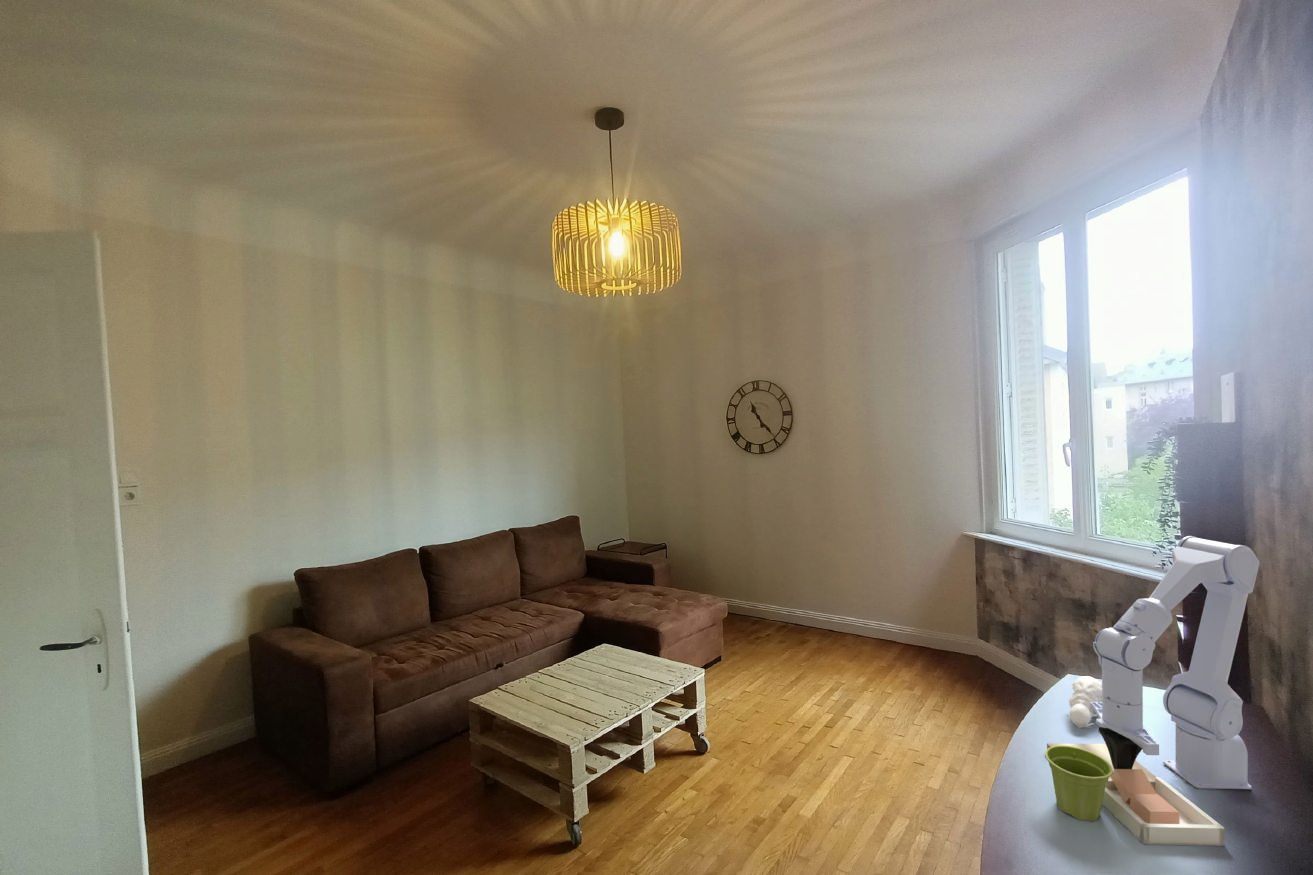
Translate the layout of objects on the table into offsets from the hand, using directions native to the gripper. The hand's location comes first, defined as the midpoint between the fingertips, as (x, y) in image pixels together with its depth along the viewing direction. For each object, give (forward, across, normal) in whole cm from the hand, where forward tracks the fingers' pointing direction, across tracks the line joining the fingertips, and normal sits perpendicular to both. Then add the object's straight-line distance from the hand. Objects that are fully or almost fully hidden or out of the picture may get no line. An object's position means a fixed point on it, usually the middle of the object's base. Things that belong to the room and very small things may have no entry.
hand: (1122, 771), depth 106 cm
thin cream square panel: (+3, -6, 0) cm, 6 cm away
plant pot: (+4, +6, -11) cm, 13 cm away
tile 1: (+2, +2, 0) cm, 3 cm away
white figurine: (+4, -24, +9) cm, 26 cm away
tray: (+3, +7, 0) cm, 8 cm away
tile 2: (+3, +8, 0) cm, 8 cm away
